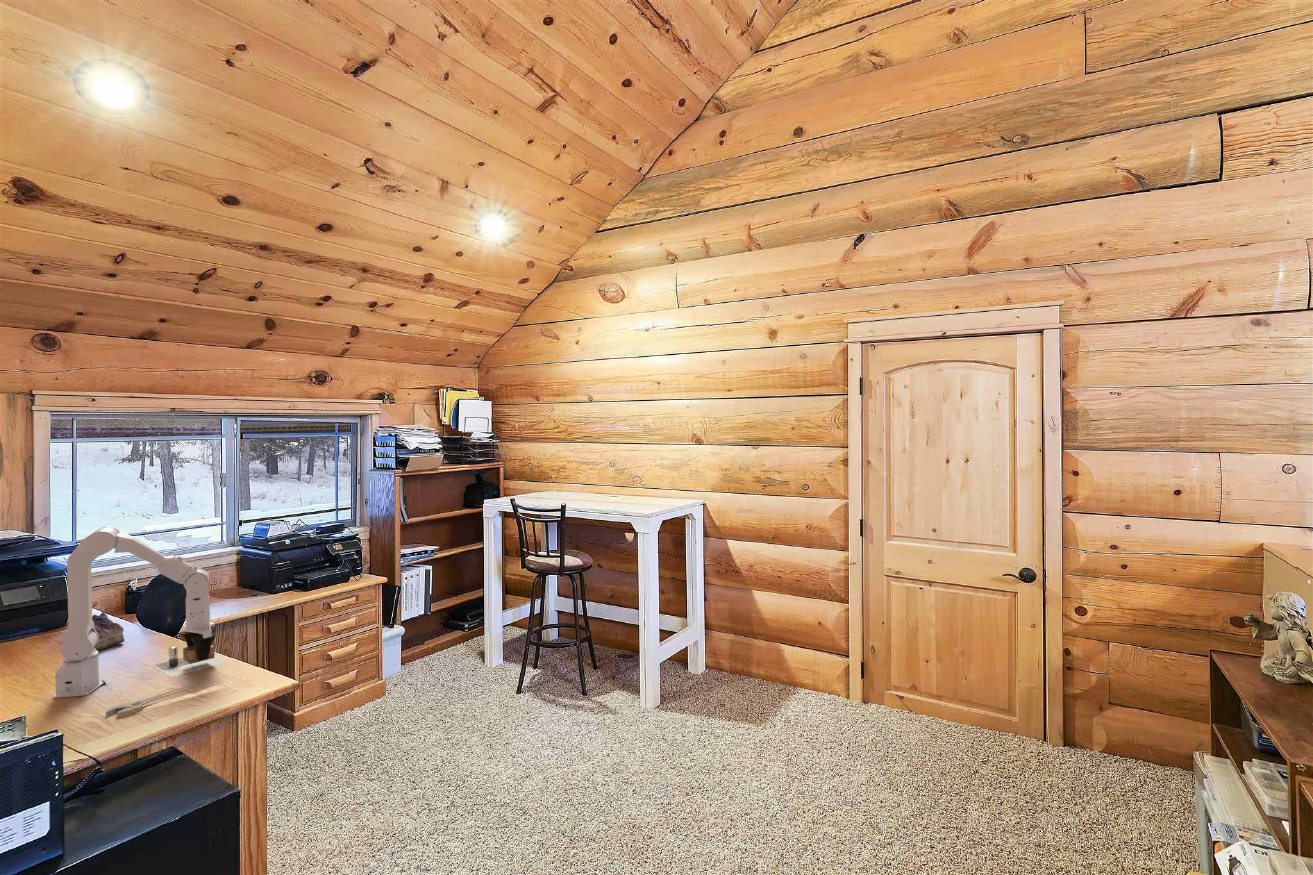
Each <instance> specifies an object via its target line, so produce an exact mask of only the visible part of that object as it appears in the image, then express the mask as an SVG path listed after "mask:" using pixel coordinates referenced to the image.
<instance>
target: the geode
mask: <svg viewBox="0 0 1313 875" xmlns="http://www.w3.org/2000/svg"><path fill="white" fill-rule="evenodd" d="M92 620H93V622H94V628H95V631H96V632H97V633H98V635H99V641H98V643H97V644H96V645H95V646H94V648H95V649H96V650H97V651H99V650H100V651H101V650H103V649H106V648H109V647H113V646H115V645H119V644H122V643H124V642H125V636H124V631H125V630H124V627H123V626H122V625H121V624H119V623H117V622H114V621H113V620H111V619H110V618H109V617H108V614H106V613H105V612H104V611H103V612H101V613H100V614H99V615H97V614H92Z"/></svg>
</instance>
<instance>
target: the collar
mask: <svg viewBox="0 0 1313 875" xmlns="http://www.w3.org/2000/svg"><path fill="white" fill-rule="evenodd" d="M182 656H183V657H182V658H183V660H185V661H187V662H188V663H190V664H193V663H197V662H201V661H204V660H201V661H199V660H198V657H197V651H196V647H195V645H193V646H189V647H188V646H186V647H182ZM215 658H216V657H215V645H213V644H212V645H211V647H210V651H209V655H208V659H211V660H212V659H215ZM208 659H205V660H208Z"/></svg>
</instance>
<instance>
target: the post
mask: <svg viewBox="0 0 1313 875" xmlns="http://www.w3.org/2000/svg"><path fill="white" fill-rule="evenodd" d="M187 664H190V663H188V662H187V661H185V660H183V657H181V658H179V646H177V645H175V646H170V647H168V661H165V662H161V663H157V664H155V666H158V667H159V668H161V669H162V670H167V669H171V668H175V667H179V666H183V665H187Z"/></svg>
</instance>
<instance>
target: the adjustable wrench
mask: <svg viewBox="0 0 1313 875" xmlns="http://www.w3.org/2000/svg"><path fill="white" fill-rule="evenodd" d="M211 679H213V677H212V678H209V679H205V680H202V681H199V682H195V683H193V684H189V685H186V686H183V687H180V688H176V689H173V690H170V691H166V692H164V693H162V694H158V695H154V696H151V697H148V698H145V699H141V700H135V701H131V702H125V703H121V704H117V705H113V706H111V707H108V708H107V709H106V711H105V717H110V716H113V715H114V714H116V717H117V718H122V717H126V716H132V715H133V714H137V713H140V712H141V711H143V710H144V709H145V708H147V707H149V706H152V705H156V703H151V704H148V705H146V704H147V703H150V702H153V701H155V700H159V699H162V698H164V697H168V696H171V695H174V694H177V693H180V692H184V691H186V690H189V689H193V688H196V687H199V686H202V685H205V684H207V683H208V684H209V683H211V682H215V681H216V680H219V677H217V678H216V679H215V680H211ZM200 683H201V684H200ZM197 684H198V685H197ZM194 685H195V686H194ZM187 687H188V688H187ZM184 688H185V689H184ZM181 689H182V690H181ZM143 705H144V706H143Z"/></svg>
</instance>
